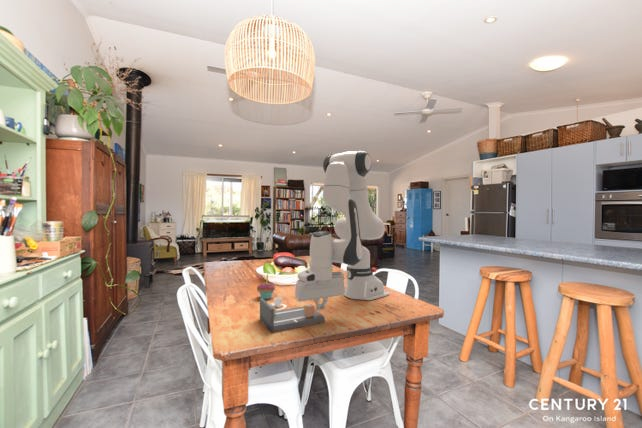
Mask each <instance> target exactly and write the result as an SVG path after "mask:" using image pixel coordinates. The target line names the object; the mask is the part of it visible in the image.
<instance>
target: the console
mask: <svg viewBox="0 0 642 428" xmlns="http://www.w3.org/2000/svg"><path fill="white" fill-rule="evenodd" d="M269 304H270V303H268V302H267V301H266V299H263V298H261V297H260V298H259V320H260V321H261V323H263V325H264V326H265V327H266V329H268V331H269V332H270V333H276V332H281V331H285V330H290V329H291V330H292V329H296V328H300V327H306V326H310V325H316V324H321V323H325V321H326V320H325V319H326V318H325V316H324V315H323V314H322V313H320V312H319V311H317V309H315V316H311V317H307V316H305V315H304V306H298V307H293V308H287V309H286V308H285V309H281V310H276V314H275V315H274V309H273V308H272V307H271V306H270V305H269Z"/></svg>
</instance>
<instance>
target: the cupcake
mask: <svg viewBox="0 0 642 428" xmlns="http://www.w3.org/2000/svg"><path fill="white" fill-rule="evenodd" d="M268 274H269V273H267V275H266V279H265V280H266V282H262V283H260V284H259V285H258V286H257V287H256V291H257V293H259V296H260V298H263V299H264V300H269V299H270V300H271V298H272V296H273V293H274V291H275V290H276V287H275V284H273V283H271V282H268V281H269V275H268Z"/></svg>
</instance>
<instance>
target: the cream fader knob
mask: <svg viewBox="0 0 642 428" xmlns="http://www.w3.org/2000/svg"><path fill="white" fill-rule="evenodd" d="M268 304H269V305H270V306H271V307H272V308H273V309H274V315H275V314H276V311H277V310H276V309H277V308H276V305H275V304H274V302H271V303H268Z"/></svg>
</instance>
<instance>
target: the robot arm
mask: <svg viewBox="0 0 642 428" xmlns="http://www.w3.org/2000/svg"><path fill="white" fill-rule="evenodd" d="M371 165H372V159H371V156H370V154H369V153H368V152H367V151H366V150H358V151H357V150H356V151H354V150H351V151H344V152H339V153H331V154H328V155H327V156H326V157H325V158H324V160H323V162H322V168H323V171H324V173H325V174H324V177H323V178H324V179H323V187H322V188H323V189H322V198H323V201H324V203H325V204H326V206H328V207H329V208H331V209H332V210H335V211H337V212H339V213H341V214H342V215H343V216H344V217H340V218H338V219H337V220H336V221H335V223H334V227H333V228H334V232H335V234H336V235H337V237H338V238H334V237H333V236H332V234H331V232H330V231H327V230H321V231H319V230H318V231H315V232H313V233H312V234H311V237H310V241H309V242H310V244H309V258H310V263H309V268H307V269H304V270H302V271H300V272H298V273H297V279H298V280H297V281H296V284H295V290H294V291H295V292H294V293H295V295H294V297H295V299H296V300H297V301H299V302H307V301H313V302H314V303H315V306H316V309H315V310H316V311H317V310H318V311H320V310H321V311H322V310H325V309H326V304H327V302H328V301H329V299H328V298H331V297H340V296H345V297H347V299H348V298H349V299H353V300H361V301H362V300H363V301H373V300H376V299H379V298H383V297H387V296H389V291H387V290H385V286H384V283H383V282H382V280H380V278H378V277H377V276H376V275H374V273H376V272H377V267H371V253H370V252H371V251H370V250H369V249H368V248H367V247H366V246H364V245H363V244H362V240H370V241H372V240H378V239H379V240H380V239H381V238H382V237H383V236H384V234H385V231H386V225H385V222H384V220H383V219H381V217H379V216H377V215H376V214H375V212H374V210H373V209H372V208H371V204H370V199H369V193H368V192H369V191H368V189H369V188H368V181H367V176H366V175H368V174H369V172H370V170H371V167H372V166H371ZM333 263H338V264H344V265H347V266H346V284H345V275H344V273H343V272H342V271H333ZM373 272H374V273H373ZM321 299H322V301H321V303H319V302H320V300H321Z"/></svg>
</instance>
